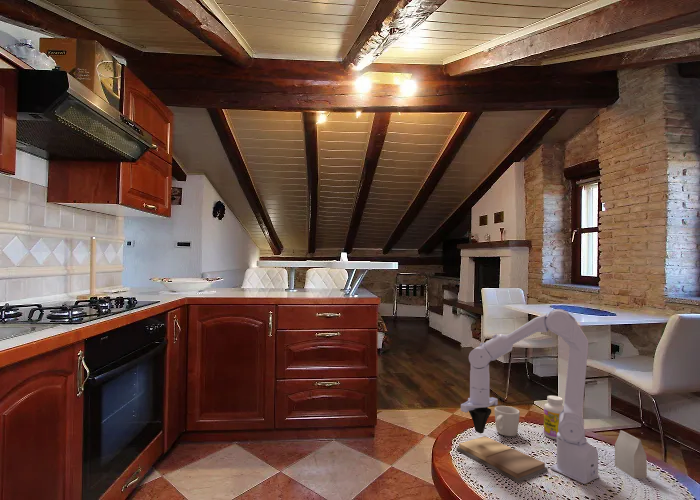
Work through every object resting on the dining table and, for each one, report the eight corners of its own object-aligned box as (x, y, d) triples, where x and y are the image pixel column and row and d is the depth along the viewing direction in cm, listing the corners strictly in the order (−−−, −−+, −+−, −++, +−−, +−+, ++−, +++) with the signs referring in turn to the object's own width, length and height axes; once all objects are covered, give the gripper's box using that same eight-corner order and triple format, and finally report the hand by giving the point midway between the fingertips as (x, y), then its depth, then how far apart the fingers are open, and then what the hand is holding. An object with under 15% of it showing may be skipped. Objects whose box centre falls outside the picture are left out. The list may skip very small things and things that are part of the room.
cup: (508, 443, 125) (509, 417, 126) (485, 435, 131) (485, 410, 132) (523, 434, 132) (523, 410, 133) (501, 427, 138) (501, 404, 139)
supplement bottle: (539, 433, 134) (539, 395, 134) (554, 431, 136) (554, 393, 136) (554, 441, 127) (555, 401, 128) (570, 439, 129) (570, 400, 130)
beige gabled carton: (634, 478, 105) (633, 440, 106) (614, 465, 112) (614, 430, 113) (646, 478, 106) (646, 440, 106) (626, 465, 113) (626, 430, 113)
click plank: (511, 452, 117) (511, 448, 117) (485, 461, 111) (485, 456, 111) (484, 439, 125) (484, 436, 125) (459, 447, 119) (459, 443, 119)
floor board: (547, 470, 108) (547, 463, 108) (518, 483, 101) (518, 475, 101) (485, 441, 126) (485, 435, 126) (456, 450, 119) (456, 443, 119)
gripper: (484, 380, 128) (484, 423, 127) (453, 386, 121) (452, 431, 120) (503, 386, 122) (503, 431, 121) (471, 392, 115) (470, 440, 114)
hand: (479, 432), depth 120 cm, fingers closed
